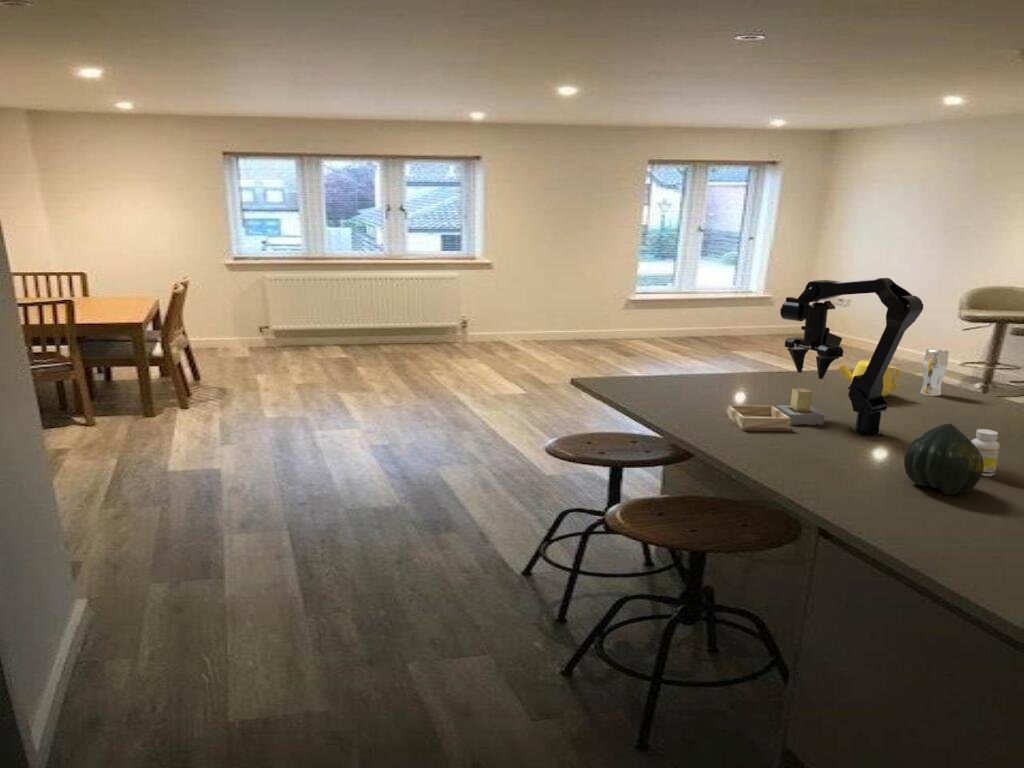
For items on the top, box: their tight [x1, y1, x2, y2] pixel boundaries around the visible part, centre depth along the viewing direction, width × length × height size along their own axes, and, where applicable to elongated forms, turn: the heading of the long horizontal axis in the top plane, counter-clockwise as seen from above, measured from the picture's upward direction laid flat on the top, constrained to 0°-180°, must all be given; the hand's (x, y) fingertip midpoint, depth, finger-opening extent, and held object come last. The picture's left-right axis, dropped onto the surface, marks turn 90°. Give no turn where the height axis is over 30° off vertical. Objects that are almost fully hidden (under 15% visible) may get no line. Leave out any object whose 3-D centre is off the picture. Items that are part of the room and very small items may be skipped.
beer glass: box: [920, 348, 949, 397], centre depth 240 cm, size 7×7×15 cm
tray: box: [725, 404, 792, 432], centre depth 204 cm, size 14×14×4 cm
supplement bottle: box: [970, 428, 1001, 477], centre depth 167 cm, size 6×6×10 cm
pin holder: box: [775, 404, 825, 426], centre depth 208 cm, size 10×10×3 cm
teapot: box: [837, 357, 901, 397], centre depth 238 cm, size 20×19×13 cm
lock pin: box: [790, 388, 813, 413], centre depth 207 cm, size 4×4×9 cm
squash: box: [903, 422, 984, 495], centre depth 157 cm, size 14×15×15 cm
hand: (810, 375), depth 210 cm, fingers open, 9 cm apart
